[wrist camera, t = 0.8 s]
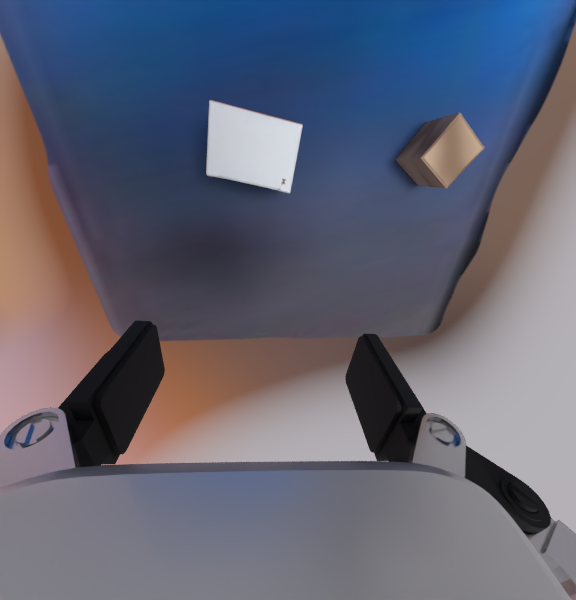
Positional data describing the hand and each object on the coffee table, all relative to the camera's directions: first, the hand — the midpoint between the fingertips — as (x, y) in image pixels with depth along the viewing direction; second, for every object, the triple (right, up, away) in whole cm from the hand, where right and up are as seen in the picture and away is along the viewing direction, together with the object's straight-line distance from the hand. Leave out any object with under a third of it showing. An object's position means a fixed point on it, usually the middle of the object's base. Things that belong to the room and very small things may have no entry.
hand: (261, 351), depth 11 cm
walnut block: (+19, +22, +20) cm, 35 cm away
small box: (-2, +21, +19) cm, 28 cm away
